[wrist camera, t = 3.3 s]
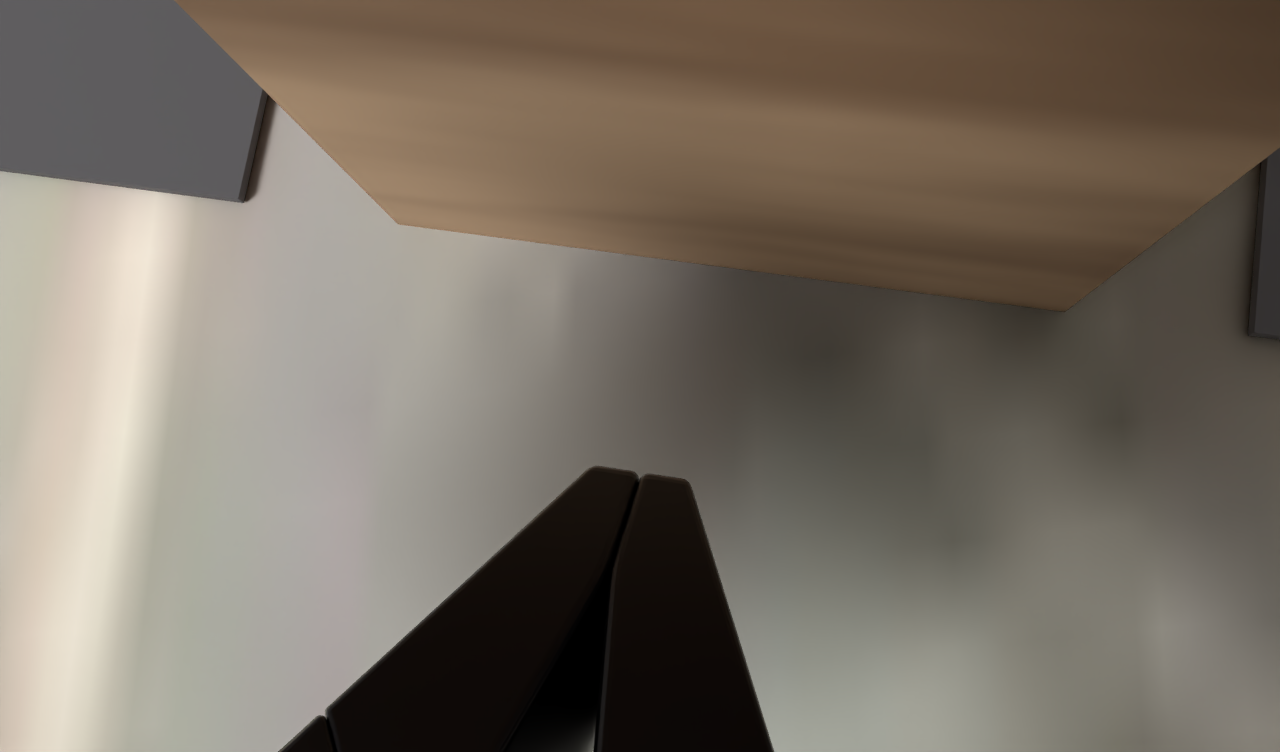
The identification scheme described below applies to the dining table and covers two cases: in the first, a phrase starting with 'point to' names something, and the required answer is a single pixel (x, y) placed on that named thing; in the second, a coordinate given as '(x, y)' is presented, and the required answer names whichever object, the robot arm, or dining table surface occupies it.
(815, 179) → the walnut block
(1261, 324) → the mats
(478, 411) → the dining table surface
